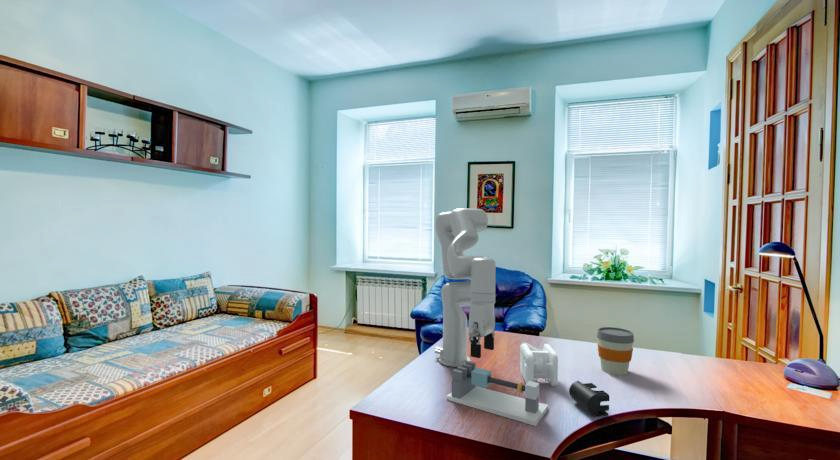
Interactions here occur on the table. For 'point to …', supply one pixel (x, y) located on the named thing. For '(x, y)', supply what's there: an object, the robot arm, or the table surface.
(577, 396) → the end cap
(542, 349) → the pale grey flat piece
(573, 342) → the table surface
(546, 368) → the cable organizer
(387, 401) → the table surface
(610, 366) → the reusable coffee cup
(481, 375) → the sleeve
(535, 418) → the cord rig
